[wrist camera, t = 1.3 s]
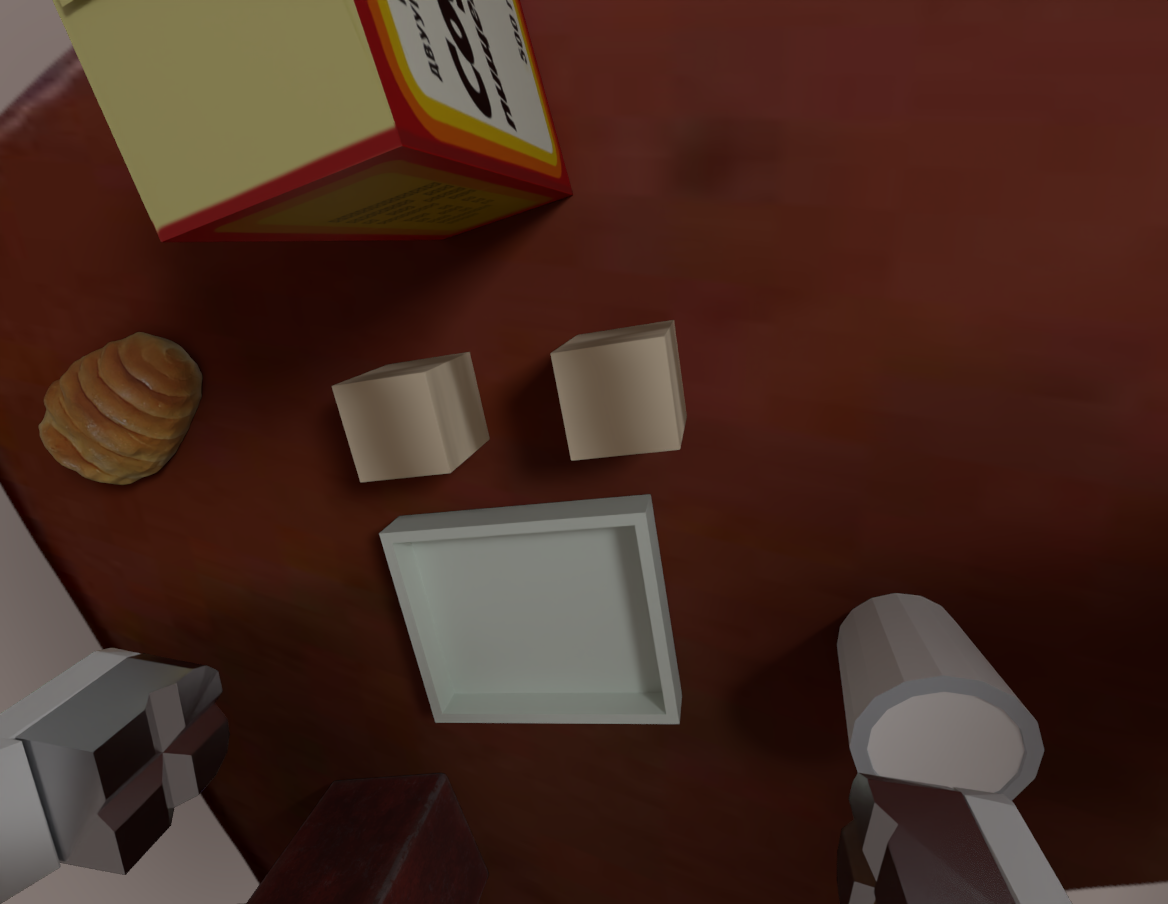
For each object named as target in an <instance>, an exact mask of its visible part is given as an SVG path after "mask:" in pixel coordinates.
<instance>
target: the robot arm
mask: <svg viewBox="0 0 1168 904" xmlns="http://www.w3.org/2000/svg"><path fill="white" fill-rule="evenodd" d="M222 692H223V691H222V686H221V682H220V678H219V673H218V671H217V670H215V669H213V668H211V667H209V666H207V665H202V664H197V663H192V662H187V661H182V660H176V659H171V658H166V657H161V656H156V655H151V654H146V653H142V654H140V653H135V652H131V651H126V650H121V649H116V648H108V649H103V650H99V651H95V652H93V653H92V654H90V655H89V656H87V657H86V658H84V659H82V660H81V661H79V662H78V663H76V664H75V665H73V666H72V667H71V668H69V669H67V670H66V671H65V672H63V673H61V674H60V675H58V676H57V677H55V678H54V679H52V680H51V681H49V682H48V683H46V684H45V685H43V686H42V687H40V688H39V689H37V690H36V691H34V692H32V693H31V694H29V695H28V696H26V697H25V698H23V699H22V700H20V701H19V702H17V703H16V704H14V705H13V706H11V707H10V708H8V709H7V710H5V711H4V712H2V713H1V714H0V904H1V903H3V902H4V901H6V900H8V899H9V898H11V897H13V896H14V895H16V894H17V893H19V892H21V891H22V890H24V889H26V888H27V887H29V886H31V885H32V884H34V883H35V882H37V881H39V880H40V879H42V878H44V877H45V876H47V875H48V874H50V873H52V872H54V871H55V870H57V869H58V868H60V863H64V864H70V865H75V866H80V867H85V868H91V869H96V870H101V871H107V872H112V873H117V874H122V875H126V874H127V873H128V872H129V870H130V869H131V868H132V867H133V866H134V865H135V864H136V863H137V862H138V861H139V860H140V859H141V857H142V856H143V855H144V854H145V853H146V852H147V851H148V850H149V849H150V848H151V847H152V845H153V844H154V843H155V842H156V841H157V840H158V839H159V838H160V837H161V836H162V835H163V833H164V832H165V831H166V830H167V829H168V828H169V827H170V826H171V823H172V817H173V812H174V808H175V807H176V806H178V805H180V804H182V803H184V802H186V801H188V800H190V799H192V798H194V797H196V796H198V795H199V794H200V793H201V792H202V791H203V790H204V788H205V787H206V786H207V785H208V784H209V783H210V782H211V780H212V779H213V778H214V777H215V776H216V774H217V772H218V770H219V768H220V766H221V764H222V762H223V760H224V758H225V756H226V754H227V749H228V743H229V736H230V733H229V726H228V720H227V718H226V717H225V715H224V714H223V713H222V712H221V710H220V709H219V708H218V707H217V705H216V704H215V702H216V701H217V699H218V698H219V696H220V695H221V693H222ZM849 802H850V806H851V809H852V813H853V817H854V820H853V821H851V822H850V823H849V824H847V825H846V826H844V827H843V828H842V829H841V834H840V840H839V845H838V850H837V885H838V894H839V902H840V904H1072V902H1071V901H1070V899H1069V897H1068V896H1067V894H1066V892H1065V890H1064V889H1063V887H1062V885H1061V883H1060V882H1059V880H1058V878H1057V877H1056V875H1055V873H1054V871H1053V870H1052V868H1051V866H1050V864H1049V863H1048V861H1047V859H1046V858H1045V856H1044V854H1043V852H1042V851H1041V849H1040V847H1039V846H1038V844H1037V842H1036V840H1035V839H1034V837H1033V835H1032V833H1031V832H1030V830H1029V828H1028V827H1027V825H1026V823H1025V821H1024V820H1023V818H1022V816H1021V815H1020V813H1019V811H1018V809H1017V808H1016V806H1015V804H1014V803H1013V802H1012V801H1011V800H1010V799H1009V798H1007V797H1006V796H1005V795H1004V794H998V793H991V792H985V791H978V790H971V789H965V788H958V787H953V788H950V787H948V786H941V785H935V784H929V783H922V782H916V781H909V780H903V779H897V778H890V777H884V776H877V775H871V774H865V773H858V774H857V776H856V777H855V779H854V781H853V783H852V787H851V791H850V795H849Z"/></svg>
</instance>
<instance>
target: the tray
mask: <svg viewBox="0 0 1168 904" xmlns="http://www.w3.org/2000/svg"><path fill="white" fill-rule="evenodd" d="M379 535H380V539H381V542H382V545H383V549H384V552H385V555H386V559H387V562H388V566H389V569H390V572H391V576H392V579H393V582H394V586H395V589H396V592H397V596H398V599H399V602H400V606H401V609H402V612H403V616H404V619H405V622H406V626H407V629H408V633H409V636H410V639H411V643H412V646H413V649H414V653H415V656H416V659H417V663H418V666H419V669H420V673H421V676H422V679H423V683H424V686H425V689H426V693H427V696H428V700H429V703H430V706H431V710H432V713H433V716H434V720H435V723H588V724H679V723H680V712H681V700H682V692H681V686H680V679H679V673H678V667H677V660H676V654H675V647H674V641H673V635H672V628H671V622H670V615H669V609H668V603H667V596H666V590H665V583H664V577H663V571H662V564H661V558H660V551H659V545H658V538H657V532H656V526H655V519H654V513H653V506H652V500H651V494H648V495H636V496H624V497H613V498H601V499H590V500H578V501H567V502H555V503H544V504H532V505H521V506H509V507H498V508H486V509H475V510H463V511H451V512H440V513H428V514H417V515H405V516H399V517H398V518H396V519H395V520H394V521H393V522H392V523H391V524H390V525H388V526H387V527H386V528H385V529H384V530H383V531H381V532H380V533H379Z"/></svg>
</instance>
